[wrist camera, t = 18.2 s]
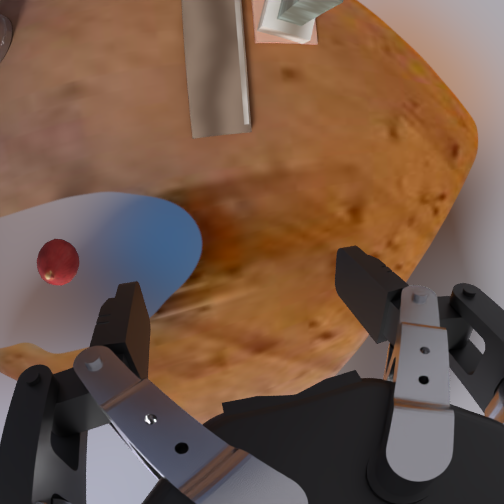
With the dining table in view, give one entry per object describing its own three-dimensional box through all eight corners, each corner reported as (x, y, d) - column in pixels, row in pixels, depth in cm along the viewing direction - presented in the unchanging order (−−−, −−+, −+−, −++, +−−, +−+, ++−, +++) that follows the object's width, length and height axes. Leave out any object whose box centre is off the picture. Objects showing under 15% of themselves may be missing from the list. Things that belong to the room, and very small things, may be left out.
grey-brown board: (192, 138, 35) (192, 138, 34) (180, -17, 26) (180, -20, 25) (249, 131, 36) (251, 132, 36) (237, -20, 27) (239, -23, 26)
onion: (69, 276, 39) (52, 308, 32) (41, 249, 36) (19, 277, 29) (93, 250, 38) (77, 280, 31) (63, 221, 36) (41, 246, 29)
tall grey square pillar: (256, 31, 30) (292, -3, 19) (266, -8, 28) (304, -50, 17) (302, 44, 32) (354, 21, 21) (311, 6, 30) (363, -26, 18)
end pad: (255, 43, 32) (256, 42, 31) (250, -11, 28) (251, -13, 28) (316, 44, 33) (317, 44, 32) (310, -7, 29) (312, -8, 29)
